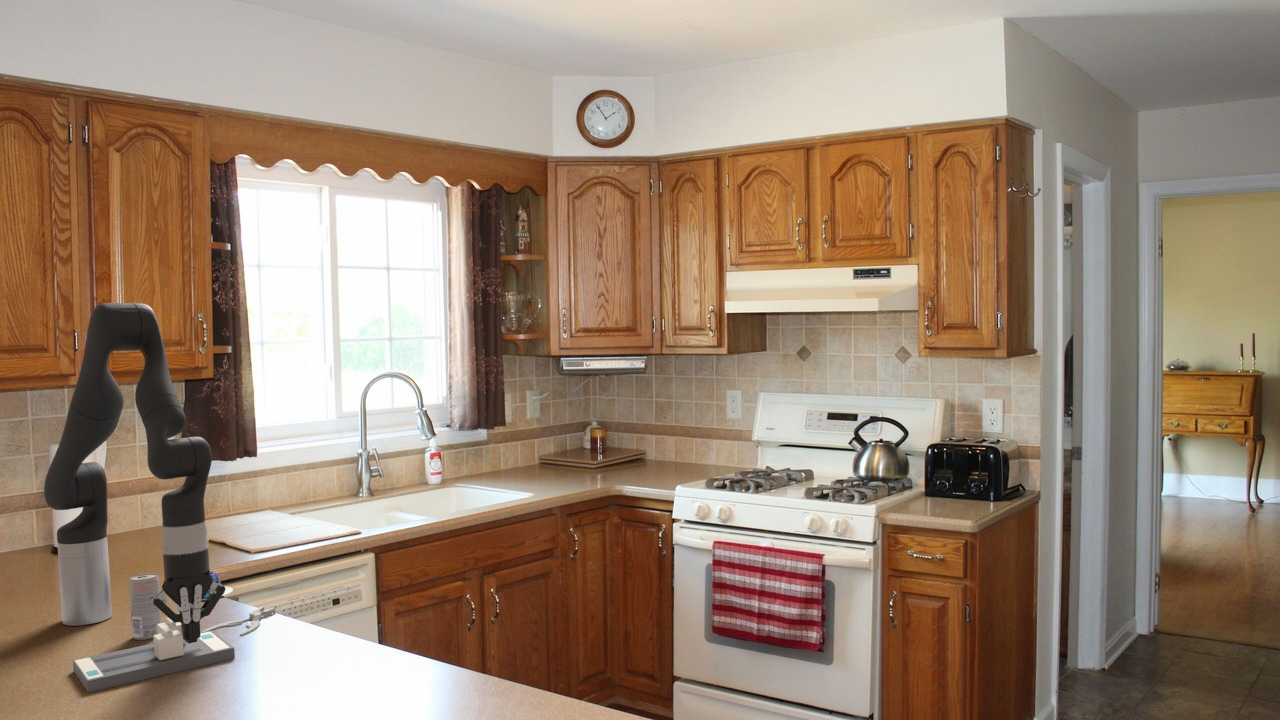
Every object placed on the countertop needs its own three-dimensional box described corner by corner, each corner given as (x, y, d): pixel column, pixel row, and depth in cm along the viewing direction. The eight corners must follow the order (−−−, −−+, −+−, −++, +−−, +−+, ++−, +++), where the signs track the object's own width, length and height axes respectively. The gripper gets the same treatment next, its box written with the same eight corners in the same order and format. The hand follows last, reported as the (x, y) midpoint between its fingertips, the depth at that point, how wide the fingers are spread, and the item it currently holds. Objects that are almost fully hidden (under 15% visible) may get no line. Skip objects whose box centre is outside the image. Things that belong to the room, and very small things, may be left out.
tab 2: (154, 654, 182) (153, 630, 181) (178, 649, 184) (176, 625, 184) (159, 660, 178) (158, 635, 178) (183, 654, 181) (182, 630, 181)
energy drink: (156, 630, 204) (153, 571, 204) (166, 635, 201) (162, 575, 200) (128, 636, 201) (124, 577, 200) (137, 642, 197) (134, 581, 196)
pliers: (200, 627, 201) (248, 605, 215) (200, 635, 201) (249, 613, 215) (242, 629, 198) (288, 607, 213) (243, 637, 198) (289, 615, 213)
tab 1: (158, 642, 188) (156, 619, 188) (181, 638, 191) (179, 615, 191) (163, 648, 185) (161, 624, 185) (186, 643, 188) (185, 619, 188)
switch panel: (73, 671, 181) (72, 659, 181) (213, 640, 196) (212, 629, 196) (88, 692, 170) (87, 680, 170) (234, 658, 185) (234, 646, 185)
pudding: (171, 606, 223) (170, 583, 222) (180, 592, 234) (179, 570, 234) (229, 600, 226) (228, 577, 226) (235, 586, 238) (234, 564, 237)
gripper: (217, 538, 190) (223, 629, 191) (141, 551, 182) (147, 645, 182) (229, 544, 184) (235, 638, 185) (151, 557, 176) (157, 655, 177)
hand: (191, 641), depth 184 cm, fingers closed
